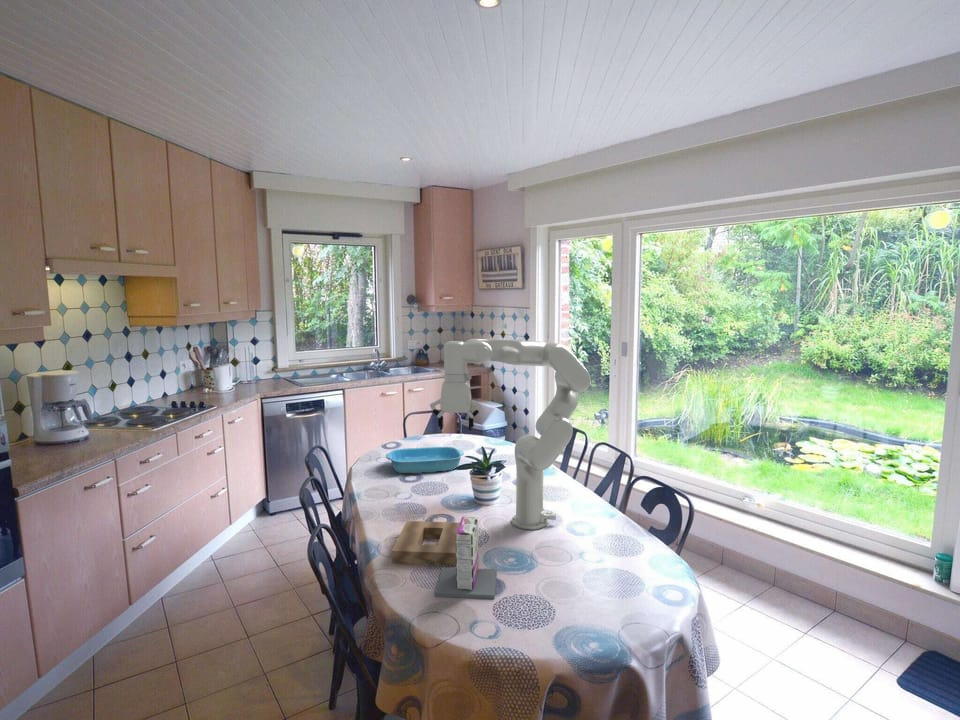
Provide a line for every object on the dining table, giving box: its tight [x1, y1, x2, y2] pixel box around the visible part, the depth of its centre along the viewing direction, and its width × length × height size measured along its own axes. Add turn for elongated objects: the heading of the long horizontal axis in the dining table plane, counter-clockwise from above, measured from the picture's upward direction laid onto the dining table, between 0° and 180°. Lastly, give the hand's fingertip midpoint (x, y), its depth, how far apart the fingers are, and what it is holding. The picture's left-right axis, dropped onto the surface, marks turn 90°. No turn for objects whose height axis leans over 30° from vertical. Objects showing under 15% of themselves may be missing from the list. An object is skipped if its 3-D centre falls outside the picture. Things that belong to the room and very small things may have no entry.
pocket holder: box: [391, 520, 460, 567], centre depth 175 cm, size 20×22×4 cm
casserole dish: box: [385, 446, 465, 474], centre depth 257 cm, size 37×22×7 cm, turn 104°
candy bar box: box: [455, 516, 480, 590], centre depth 153 cm, size 11×5×16 cm, turn 173°
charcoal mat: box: [434, 566, 498, 600], centre depth 154 cm, size 16×14×1 cm
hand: (455, 428), depth 183 cm, fingers open, 9 cm apart
